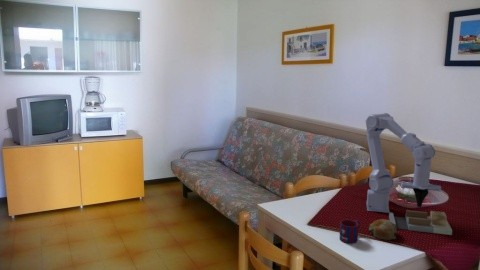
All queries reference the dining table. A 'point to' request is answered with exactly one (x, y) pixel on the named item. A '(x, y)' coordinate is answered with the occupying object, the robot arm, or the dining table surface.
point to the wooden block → (438, 218)
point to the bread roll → (383, 229)
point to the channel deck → (419, 223)
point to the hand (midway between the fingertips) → (418, 206)
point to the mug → (349, 231)
